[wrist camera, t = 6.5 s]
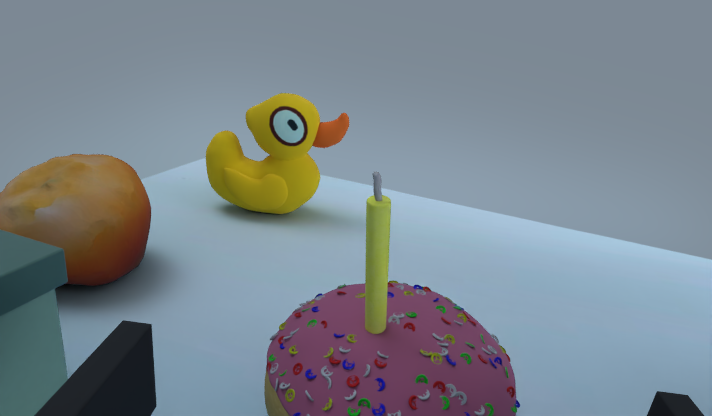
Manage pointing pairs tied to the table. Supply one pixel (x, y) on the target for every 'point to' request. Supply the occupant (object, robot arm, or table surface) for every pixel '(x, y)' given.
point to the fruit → (82, 214)
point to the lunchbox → (29, 324)
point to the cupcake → (386, 348)
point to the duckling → (273, 156)
